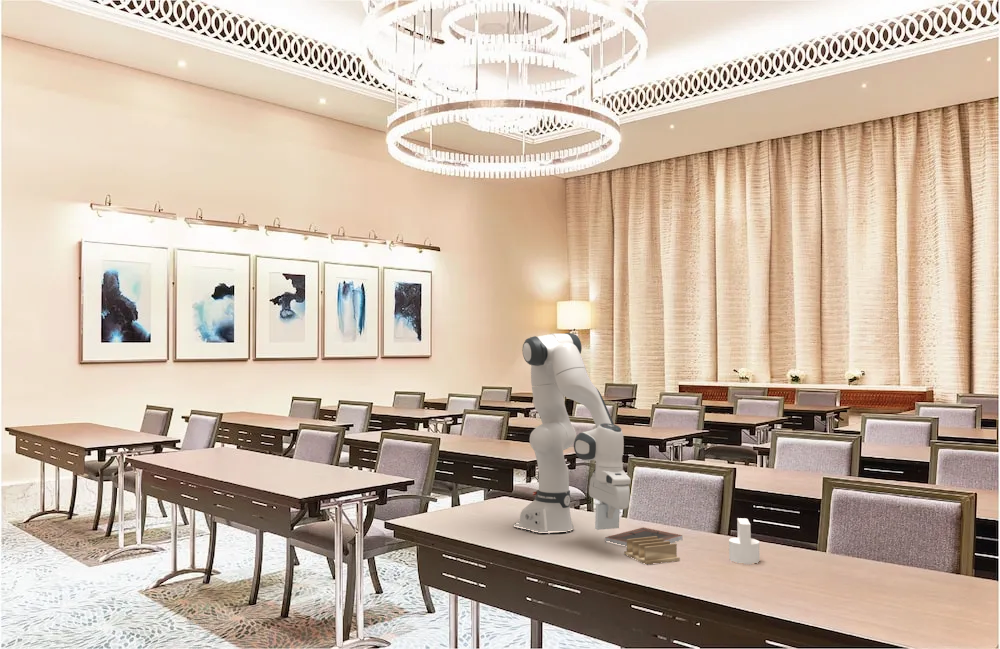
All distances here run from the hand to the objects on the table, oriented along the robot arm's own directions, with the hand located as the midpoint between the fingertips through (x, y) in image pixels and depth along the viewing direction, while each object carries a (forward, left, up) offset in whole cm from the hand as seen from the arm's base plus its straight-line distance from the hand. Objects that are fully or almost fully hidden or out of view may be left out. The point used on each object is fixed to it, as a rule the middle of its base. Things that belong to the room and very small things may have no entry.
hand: (607, 517), depth 246 cm
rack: (+15, +2, -11) cm, 19 cm away
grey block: (0, 0, -4) cm, 4 cm away
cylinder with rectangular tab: (+39, +17, -11) cm, 44 cm away
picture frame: (+3, +20, -12) cm, 23 cm away
